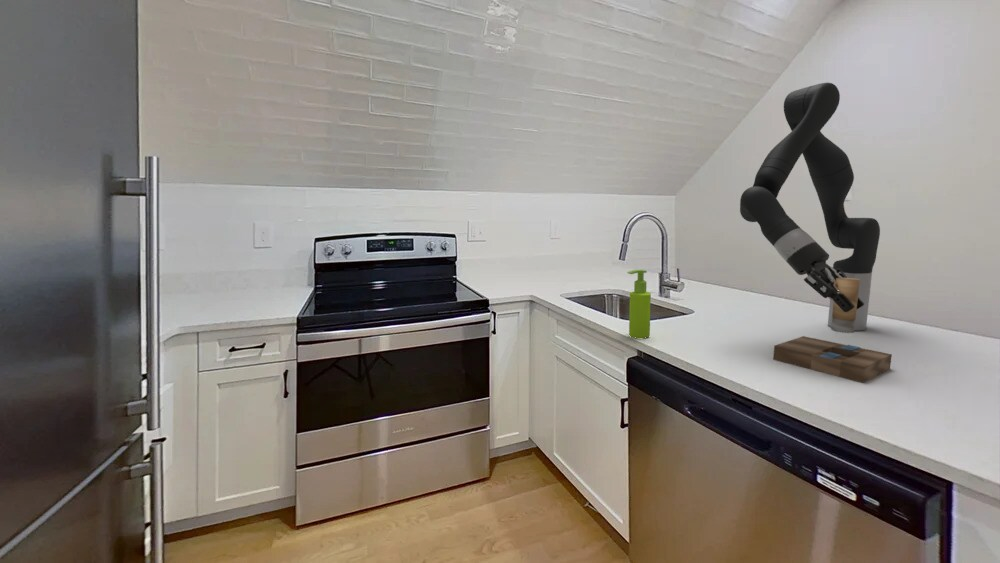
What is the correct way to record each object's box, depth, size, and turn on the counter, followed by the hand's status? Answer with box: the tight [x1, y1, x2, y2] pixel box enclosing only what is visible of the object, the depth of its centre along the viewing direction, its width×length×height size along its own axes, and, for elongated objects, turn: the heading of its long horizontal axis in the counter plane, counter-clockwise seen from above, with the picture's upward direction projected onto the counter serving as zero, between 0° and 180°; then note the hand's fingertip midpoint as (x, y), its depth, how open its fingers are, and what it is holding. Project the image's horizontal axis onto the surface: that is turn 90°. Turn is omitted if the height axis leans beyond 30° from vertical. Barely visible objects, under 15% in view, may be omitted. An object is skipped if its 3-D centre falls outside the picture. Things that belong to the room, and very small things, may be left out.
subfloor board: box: [772, 335, 892, 384], centre depth 101 cm, size 14×18×4 cm
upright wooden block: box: [830, 278, 860, 334], centre depth 98 cm, size 4×4×12 cm
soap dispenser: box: [627, 269, 652, 339], centre depth 127 cm, size 6×7×20 cm
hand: (855, 308), depth 96 cm, fingers closed on upright wooden block, 4 cm apart
